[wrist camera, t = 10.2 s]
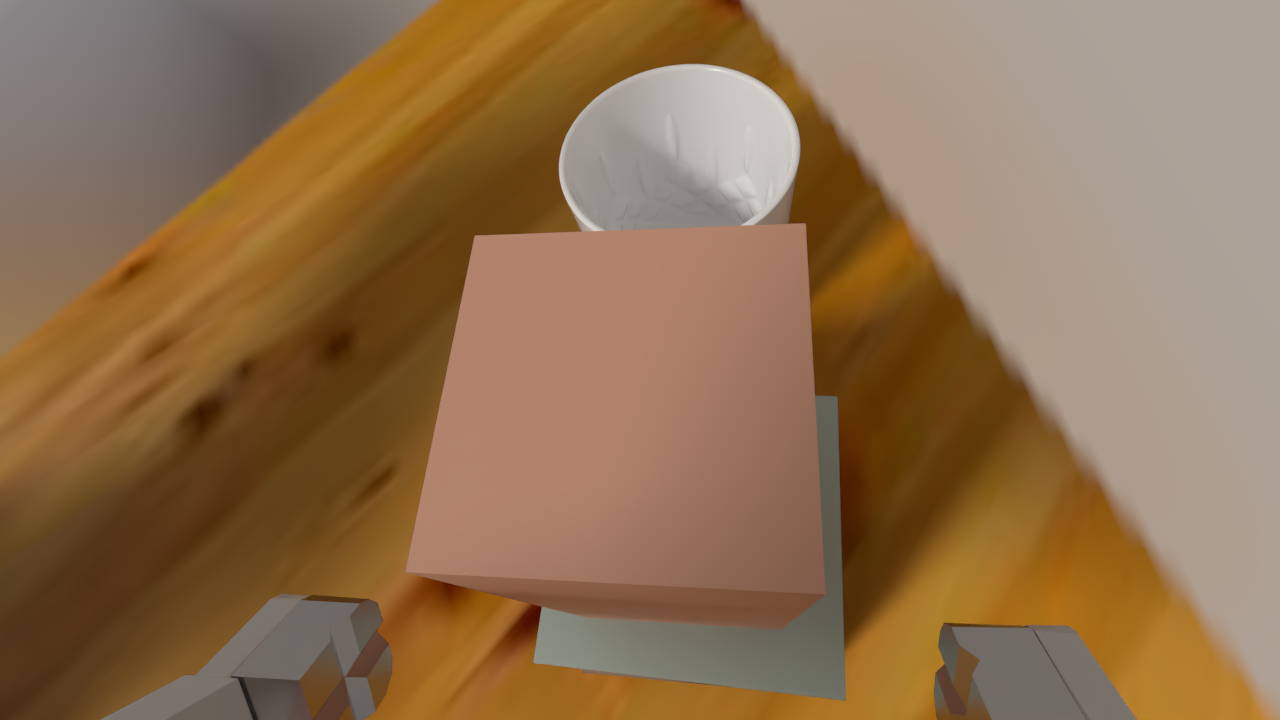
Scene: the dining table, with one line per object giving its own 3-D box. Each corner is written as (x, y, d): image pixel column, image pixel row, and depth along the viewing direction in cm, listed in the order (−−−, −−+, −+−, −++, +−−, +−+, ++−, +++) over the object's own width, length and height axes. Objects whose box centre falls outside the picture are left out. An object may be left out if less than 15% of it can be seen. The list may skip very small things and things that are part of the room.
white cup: (589, 355, 29) (520, 221, 20) (646, 219, 32) (609, 50, 23) (756, 401, 27) (761, 275, 18) (802, 252, 30) (827, 79, 21)
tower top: (582, 662, 19) (533, 662, 15) (610, 441, 22) (576, 385, 18) (820, 691, 18) (845, 700, 14) (818, 453, 21) (837, 396, 17)
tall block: (586, 617, 15) (404, 571, 7) (603, 435, 17) (474, 235, 9) (780, 629, 14) (826, 594, 6) (775, 438, 16) (805, 223, 8)
